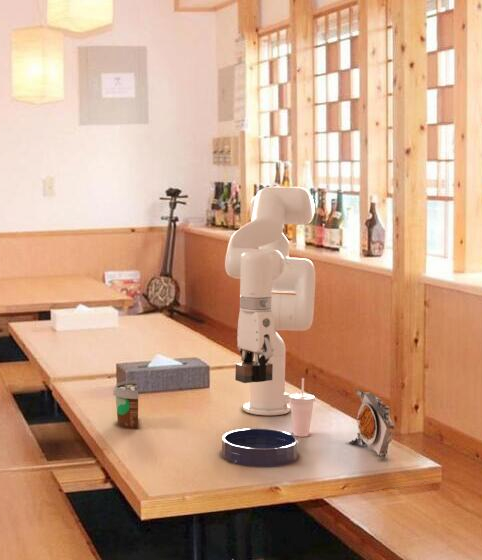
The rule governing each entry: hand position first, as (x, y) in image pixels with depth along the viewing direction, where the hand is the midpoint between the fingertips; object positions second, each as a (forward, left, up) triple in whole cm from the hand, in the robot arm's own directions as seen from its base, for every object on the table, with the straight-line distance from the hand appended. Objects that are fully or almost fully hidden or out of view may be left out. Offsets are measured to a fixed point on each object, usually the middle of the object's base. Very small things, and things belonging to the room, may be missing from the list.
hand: (254, 378), depth 251 cm
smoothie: (-14, +1, -15) cm, 21 cm away
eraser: (0, 0, 0) cm, 0 cm away
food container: (+20, -28, -15) cm, 38 cm away
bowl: (+5, +11, -15) cm, 19 cm away
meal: (-19, +20, -15) cm, 32 cm away
